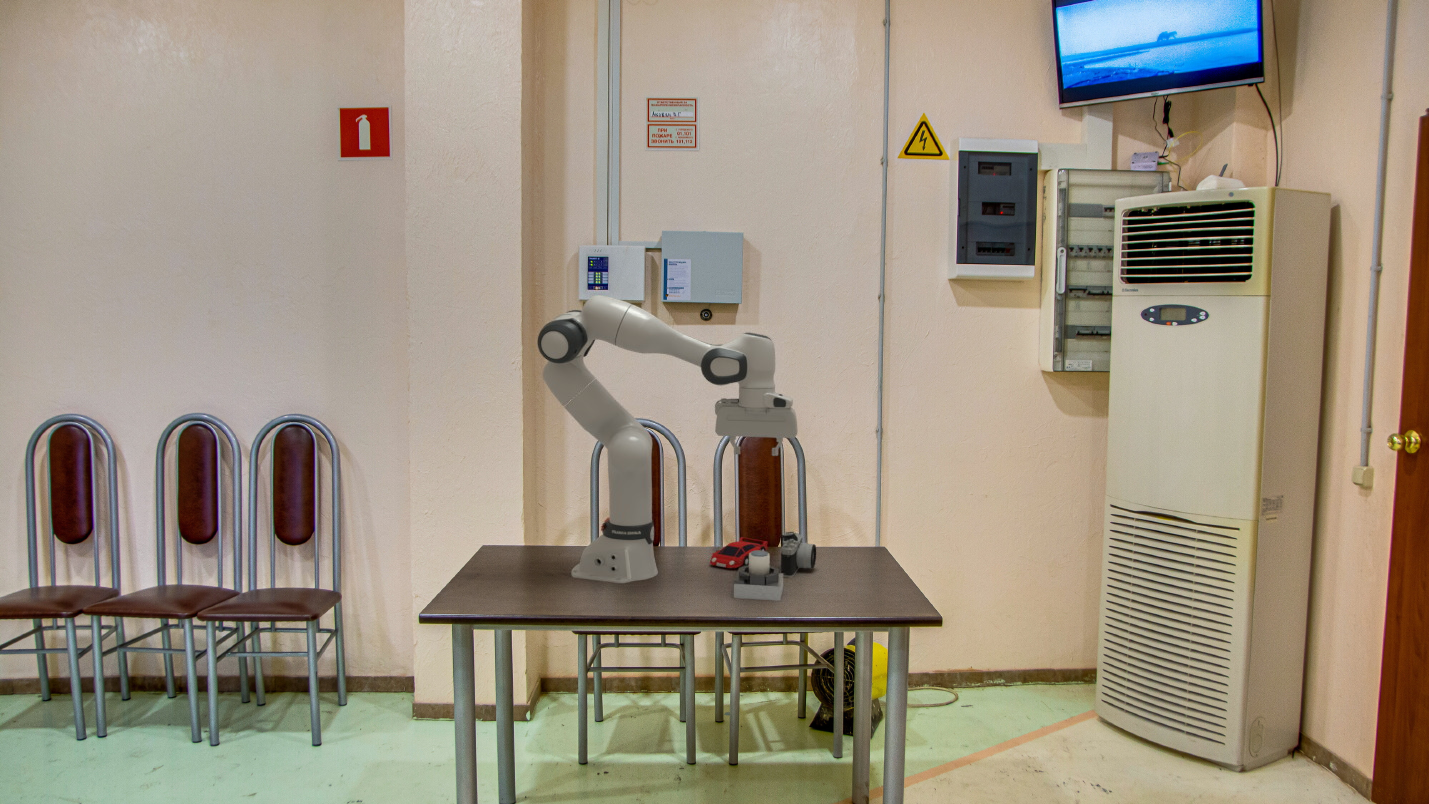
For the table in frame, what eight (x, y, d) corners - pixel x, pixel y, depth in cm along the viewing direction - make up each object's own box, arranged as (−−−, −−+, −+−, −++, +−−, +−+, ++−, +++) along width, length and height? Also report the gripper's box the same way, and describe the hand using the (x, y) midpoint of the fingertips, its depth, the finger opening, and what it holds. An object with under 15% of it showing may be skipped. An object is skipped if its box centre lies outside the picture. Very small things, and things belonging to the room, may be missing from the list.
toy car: (705, 567, 211) (706, 549, 211) (736, 549, 229) (737, 532, 229) (741, 573, 207) (741, 555, 206) (770, 554, 225) (770, 537, 224)
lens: (747, 581, 188) (747, 555, 187) (749, 574, 193) (750, 549, 192) (768, 582, 187) (768, 556, 186) (770, 575, 192) (770, 550, 191)
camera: (808, 580, 201) (809, 542, 200) (774, 577, 204) (774, 539, 203) (818, 563, 216) (819, 527, 215) (786, 560, 218) (787, 525, 217)
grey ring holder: (733, 600, 186) (734, 575, 185) (739, 586, 196) (739, 562, 195) (780, 603, 184) (780, 578, 184) (783, 589, 194) (783, 565, 194)
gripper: (713, 399, 191) (712, 455, 192) (797, 401, 188) (796, 458, 189) (716, 396, 197) (716, 451, 199) (798, 398, 194) (797, 454, 196)
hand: (755, 454), depth 194 cm, fingers open, 8 cm apart
